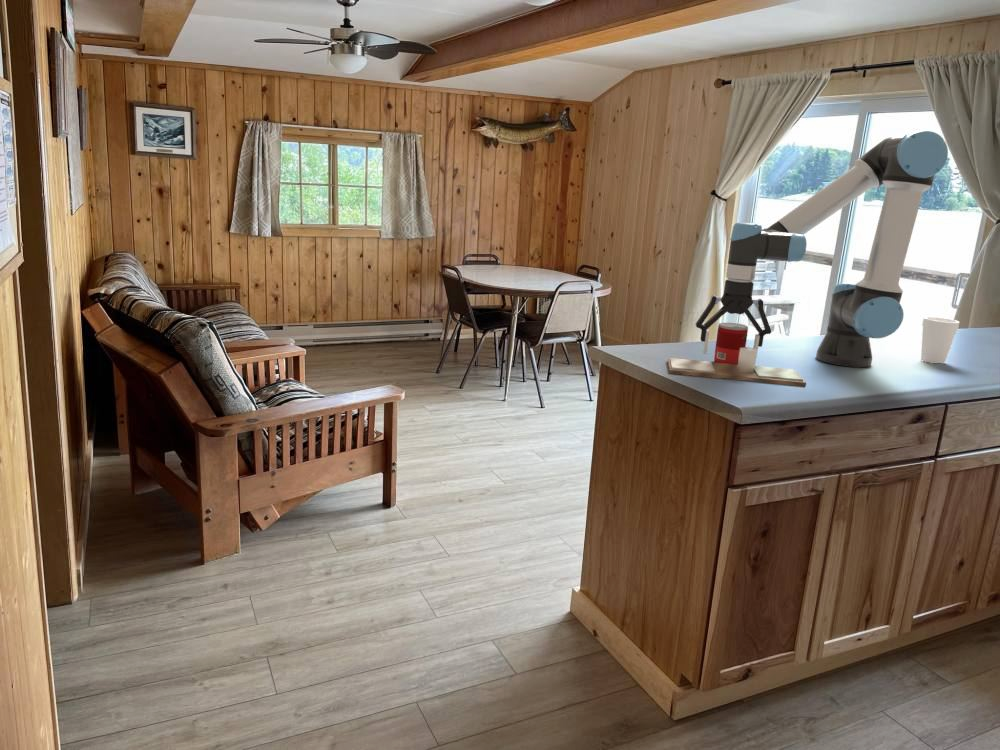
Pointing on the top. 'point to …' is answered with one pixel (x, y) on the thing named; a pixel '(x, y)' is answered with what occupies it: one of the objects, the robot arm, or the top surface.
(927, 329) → the foam cup
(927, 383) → the top surface
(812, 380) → the top surface
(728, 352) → the canned food
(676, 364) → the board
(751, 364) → the ceramic post
